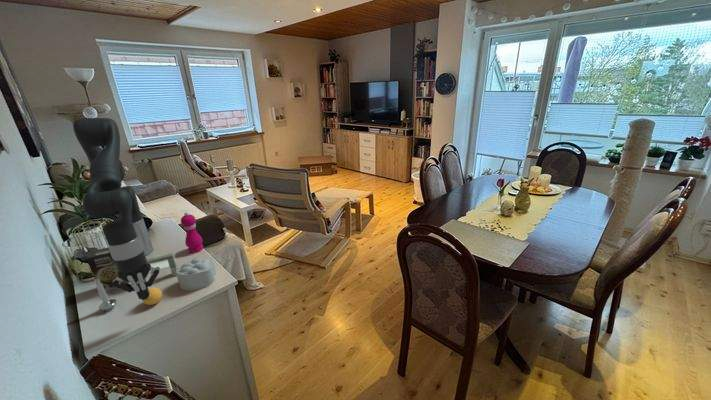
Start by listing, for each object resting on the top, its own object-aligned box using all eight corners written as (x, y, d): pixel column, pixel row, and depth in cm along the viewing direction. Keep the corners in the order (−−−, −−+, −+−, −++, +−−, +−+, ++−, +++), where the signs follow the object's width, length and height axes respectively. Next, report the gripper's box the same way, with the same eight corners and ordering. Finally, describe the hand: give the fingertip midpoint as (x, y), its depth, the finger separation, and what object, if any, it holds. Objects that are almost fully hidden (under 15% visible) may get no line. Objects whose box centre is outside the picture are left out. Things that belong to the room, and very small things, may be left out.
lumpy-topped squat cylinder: (214, 285, 112) (209, 267, 109) (177, 293, 109) (171, 275, 105) (217, 271, 122) (212, 253, 118) (182, 278, 118) (177, 260, 115)
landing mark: (145, 260, 131) (145, 260, 131) (175, 252, 136) (175, 252, 136) (142, 274, 121) (142, 273, 121) (174, 265, 126) (174, 264, 126)
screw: (120, 302, 105) (113, 312, 100) (105, 305, 104) (97, 314, 99) (108, 273, 100) (99, 282, 95) (92, 275, 99) (83, 284, 95)
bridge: (136, 283, 115) (128, 263, 112) (178, 271, 122) (172, 252, 118) (135, 287, 113) (127, 267, 109) (178, 275, 119) (172, 255, 116)
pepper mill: (207, 248, 139) (197, 210, 132) (193, 255, 134) (182, 216, 126) (199, 244, 143) (189, 208, 136) (184, 251, 137) (173, 213, 130)
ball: (145, 300, 105) (140, 287, 103) (164, 294, 108) (160, 281, 106) (144, 310, 100) (138, 297, 98) (163, 304, 103) (159, 291, 101)
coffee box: (100, 294, 110) (84, 258, 104) (105, 284, 115) (90, 250, 109) (129, 286, 113) (115, 251, 108) (132, 277, 119) (119, 244, 113)
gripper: (154, 241, 93) (168, 285, 100) (103, 253, 87) (122, 299, 94) (152, 252, 87) (168, 297, 94) (97, 265, 81) (118, 313, 88)
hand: (145, 298), depth 94 cm, fingers closed
